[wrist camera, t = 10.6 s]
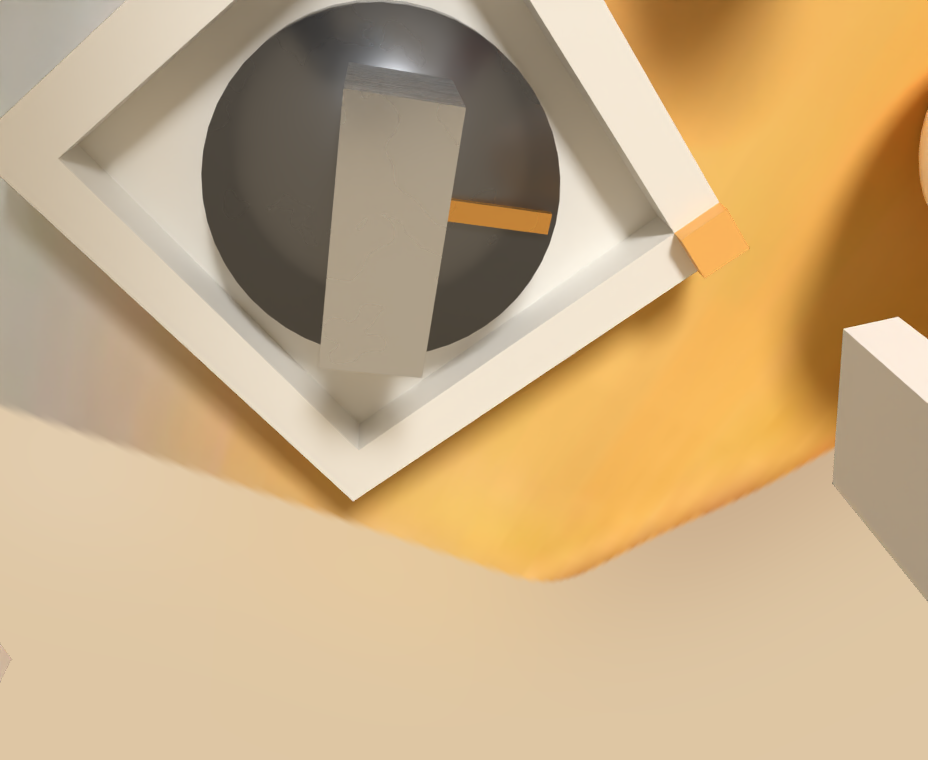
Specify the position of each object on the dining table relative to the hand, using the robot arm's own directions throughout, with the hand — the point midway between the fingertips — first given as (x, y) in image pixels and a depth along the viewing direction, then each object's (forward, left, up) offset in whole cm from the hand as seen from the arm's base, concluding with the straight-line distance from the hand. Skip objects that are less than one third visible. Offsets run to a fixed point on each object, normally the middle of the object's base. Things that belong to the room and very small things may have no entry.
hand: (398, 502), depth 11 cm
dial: (+1, -1, -21) cm, 21 cm away
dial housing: (+1, -1, -23) cm, 23 cm away
